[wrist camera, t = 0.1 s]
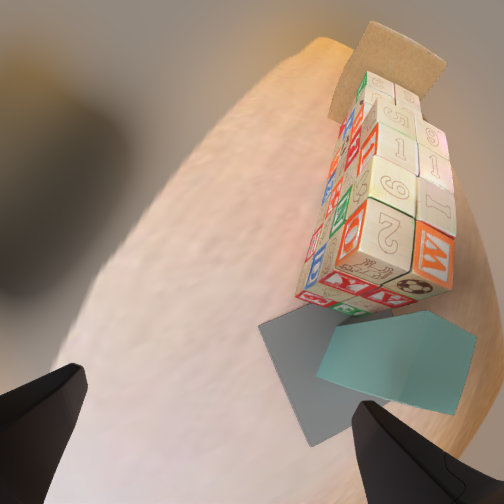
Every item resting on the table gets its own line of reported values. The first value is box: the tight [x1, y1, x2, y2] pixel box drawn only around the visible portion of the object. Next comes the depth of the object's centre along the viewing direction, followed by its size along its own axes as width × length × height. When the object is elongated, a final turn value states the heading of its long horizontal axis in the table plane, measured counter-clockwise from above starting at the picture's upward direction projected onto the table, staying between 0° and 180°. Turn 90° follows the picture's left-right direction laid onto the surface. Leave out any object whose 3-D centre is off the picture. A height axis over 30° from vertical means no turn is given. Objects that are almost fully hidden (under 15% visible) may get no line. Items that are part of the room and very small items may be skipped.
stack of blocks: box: [295, 71, 457, 318], centre depth 21 cm, size 21×6×12 cm, turn 161°
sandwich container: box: [328, 21, 447, 124], centre depth 26 cm, size 9×15×15 cm, turn 158°
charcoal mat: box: [258, 303, 394, 447], centre depth 23 cm, size 12×12×1 cm
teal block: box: [316, 310, 477, 415], centre depth 17 cm, size 5×5×12 cm
